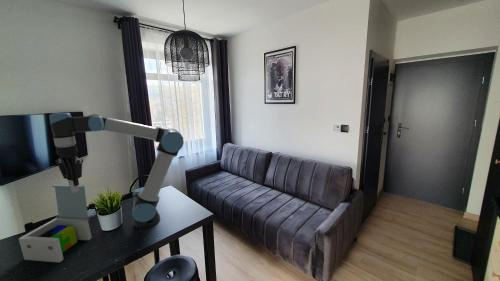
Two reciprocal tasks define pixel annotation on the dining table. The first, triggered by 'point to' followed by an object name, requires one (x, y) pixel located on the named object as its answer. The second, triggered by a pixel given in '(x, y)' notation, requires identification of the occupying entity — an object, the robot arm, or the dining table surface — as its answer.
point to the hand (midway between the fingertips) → (75, 191)
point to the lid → (71, 202)
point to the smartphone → (91, 212)
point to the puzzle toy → (62, 236)
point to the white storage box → (51, 240)
